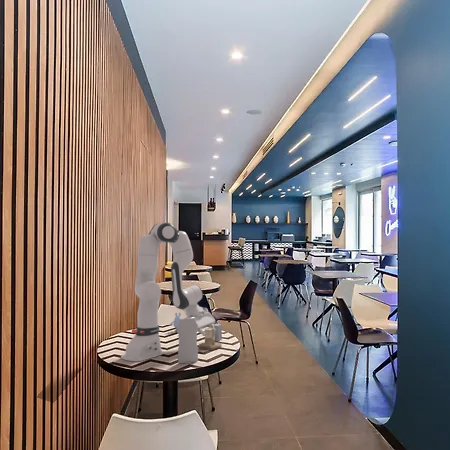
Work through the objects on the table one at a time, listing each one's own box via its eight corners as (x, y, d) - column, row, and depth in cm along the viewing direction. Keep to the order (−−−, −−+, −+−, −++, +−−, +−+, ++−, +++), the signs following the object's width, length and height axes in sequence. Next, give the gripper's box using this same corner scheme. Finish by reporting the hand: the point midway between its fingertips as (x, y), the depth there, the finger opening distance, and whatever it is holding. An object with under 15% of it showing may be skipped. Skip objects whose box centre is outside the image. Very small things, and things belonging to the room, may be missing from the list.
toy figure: (185, 329, 260) (184, 311, 260) (187, 331, 254) (186, 312, 254) (169, 330, 257) (169, 312, 257) (170, 332, 251) (170, 314, 251)
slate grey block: (218, 341, 228) (217, 325, 228) (212, 340, 230) (212, 325, 231) (221, 339, 232) (221, 324, 232) (216, 338, 234) (215, 323, 234)
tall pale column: (197, 359, 195) (196, 315, 195) (199, 362, 191) (198, 317, 191) (177, 362, 192) (176, 317, 192) (178, 364, 188) (177, 319, 188)
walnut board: (213, 351, 208) (213, 349, 208) (193, 348, 215) (193, 346, 215) (225, 345, 219) (225, 343, 219) (206, 342, 226) (206, 340, 226)
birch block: (210, 346, 214) (210, 330, 214) (204, 345, 216) (204, 329, 216) (214, 344, 218) (214, 328, 218) (208, 343, 220) (208, 327, 220)
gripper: (187, 313, 212) (202, 333, 207) (208, 307, 230) (222, 325, 224) (181, 321, 215) (196, 341, 209) (202, 314, 232) (216, 332, 227)
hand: (209, 333), depth 217 cm, fingers open, 8 cm apart
